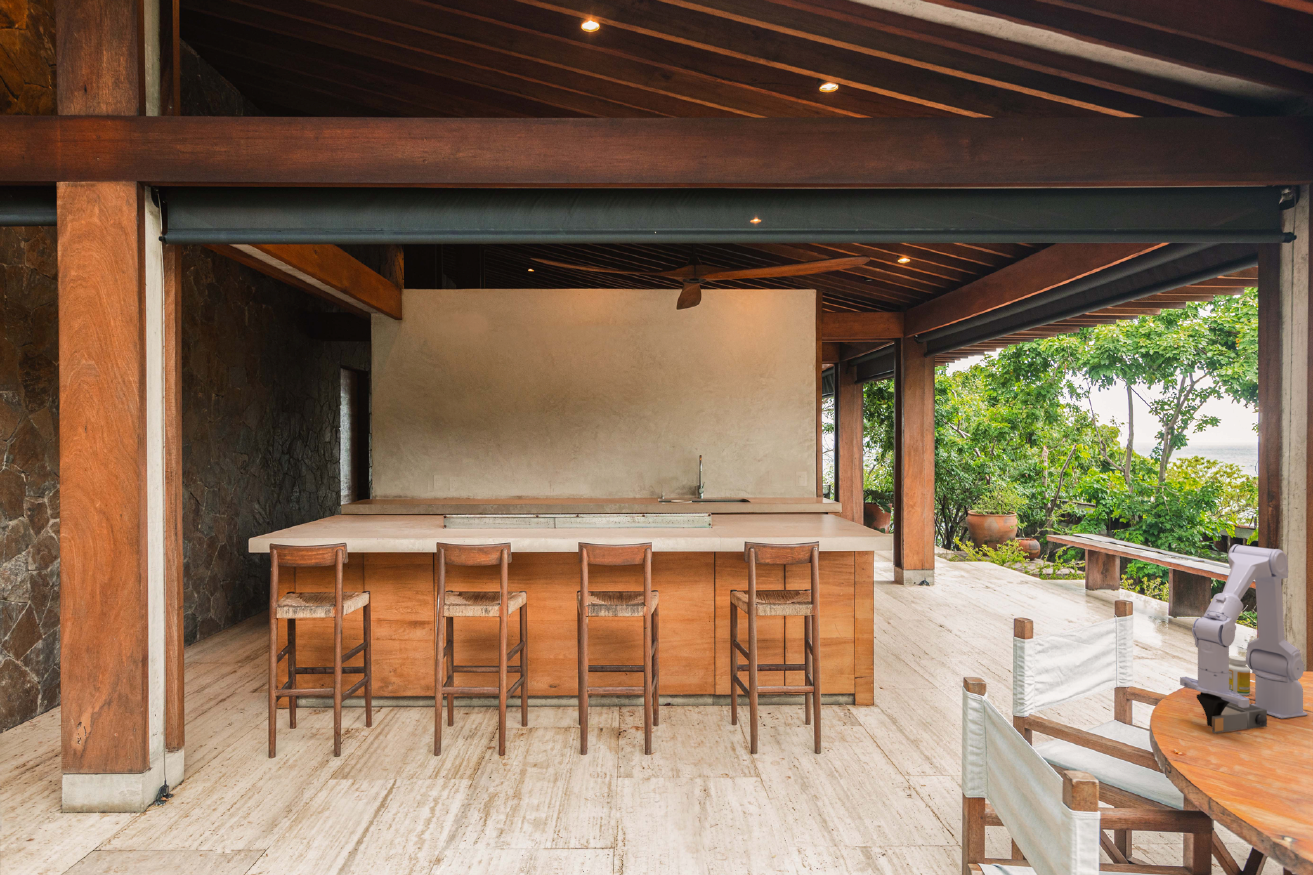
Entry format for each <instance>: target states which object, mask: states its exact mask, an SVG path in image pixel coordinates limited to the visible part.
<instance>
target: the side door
mask: <svg viewBox="0 0 1313 875" xmlns="http://www.w3.org/2000/svg"><path fill="white" fill-rule="evenodd" d="M1242 730H1250V729H1249V712H1240V713H1233V714H1225V715H1218V716H1212V727H1211V731H1212V733H1214V734H1220V733H1228V732H1233V731H1242Z"/></svg>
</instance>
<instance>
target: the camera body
mask: <svg viewBox="0 0 1313 875" xmlns="http://www.w3.org/2000/svg"><path fill="white" fill-rule="evenodd" d="M1251 704H1252V703H1249V707H1246V708H1242V707H1239V706H1238V705H1236V704H1234V703H1231V702H1229V704H1228V705H1227V706H1226V707H1225V708H1224V710H1223V712H1222V713H1221V715H1225V714H1233V713H1240V712H1249V729H1248V730H1251V729H1252V730H1253V729H1258V728H1259V729H1260V728H1264V727H1265V728H1266V727H1268V714H1267V710H1265V709H1262V708H1260V707H1257V706H1254V705H1251Z"/></svg>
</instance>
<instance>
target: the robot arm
mask: <svg viewBox="0 0 1313 875" xmlns="http://www.w3.org/2000/svg"><path fill="white" fill-rule="evenodd" d="M1227 553H1228V556H1227V560H1228V565H1229V568H1230V570H1229V571H1230V572H1229V574H1228V576H1227V579H1226V582H1225V585H1224V587H1223V591H1222V592H1219V593H1216V594H1214V596H1213V597H1212V598H1211V601H1210V604H1209V605H1208V607H1207V609H1206V610H1205V612H1204V614H1203V616H1201V617H1198V618H1195V620H1194V621H1193V623H1192V624H1193V625H1192V628H1191V632H1192V633H1191V634H1192V637H1193V639H1194V646H1195V647H1196V648H1197V679H1195V678H1193V677H1189V676H1181V677H1179V685H1180V686H1182V687H1188V688H1190V689H1193V690H1196V691H1197V692H1200V693H1199V694H1196V699H1197V700H1198V701H1199V704H1200V705H1201V707H1202V709H1203V711H1204V714H1205V717H1206V725H1207V726H1208V727H1210V728H1212V716H1218V715H1221V713H1222V712H1223V710H1224V708H1225V707H1226V706H1227V705H1228V704H1229V702H1231V703H1234V704H1236V705H1238V706H1239V707H1242V708H1246V707H1249V704H1251V705H1254V706H1257V707H1260V708H1262V709H1265V710H1267V715H1268V716H1272V717H1274V718H1278V719H1281V720H1282V719H1290V718H1295V717H1304V716H1308V713H1307V712H1305V711H1304V687H1303V686H1302V684H1301V682H1300V681H1299V680H1300V679H1301V678H1302V677H1303V674H1304V672H1305V666H1304V665H1305V664H1304V661H1303V658H1302V656H1301V650H1300V649H1299V648H1297V647H1296V646H1295V645H1293V644H1292V643H1291V642H1289V641H1288V640H1286V639H1285V636H1286V635H1285V624H1284V623H1285V621H1284V605H1283V604H1284V603H1283V588H1282V580H1283V579H1284V580H1285V579H1289V560H1288V559H1289V558H1288V556H1287V554H1286V553H1285V552H1284V551H1283V550H1282V549H1278V548H1275V549H1274V548H1267V547H1258V546H1252V545H1251V546H1250V545H1241V544H1233V545H1232V546H1231V547H1230V549H1229V550H1228V552H1227ZM1253 582H1255V583H1254V584H1255V600H1256V614H1257V617H1256V618H1257V632H1258V634H1257V635H1258V637H1257V638H1254V639H1252V640H1250V641H1249V642H1248V643H1247V650H1246V654H1245V658H1246V663H1247V665H1246V666H1247V667H1248V668H1249V669H1250V671H1251V674H1253V675H1254V676H1255V678H1254V679H1255V680H1254V681H1255V682H1254V684H1255V685H1254V686H1255V690H1254V691H1255V693H1254V694H1255V699H1254V703H1250V698H1248V697H1246V696H1241V695H1239V694H1237V693H1235V692H1233V691H1231V690H1229V656H1230V646H1232V645H1233V643H1234V641H1235V637H1236V630H1237V625H1236V622H1237V621H1238V618H1240V615H1241V613H1242V611H1243V609H1244V604H1243V602H1242V601H1241V600H1242V599H1243V597H1244V596H1245V594H1246V592H1247V591H1248V589H1249V588H1250V586H1251V585H1252V584H1253Z"/></svg>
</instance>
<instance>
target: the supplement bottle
mask: <svg viewBox="0 0 1313 875" xmlns="http://www.w3.org/2000/svg"><path fill="white" fill-rule="evenodd" d="M1229 690H1231V691H1233V692H1235V693H1237V694H1239V695H1241V696H1243V697H1247V696H1249V695H1250V694H1251V669H1250V668H1249V667H1248V665H1247V663H1246V657H1242V656H1238V655H1229Z"/></svg>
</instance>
